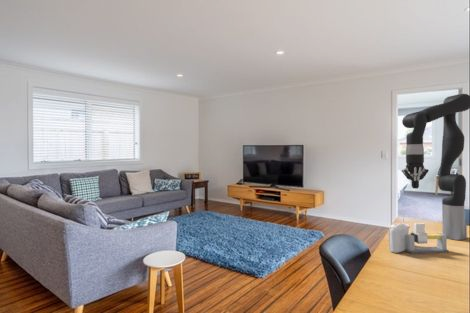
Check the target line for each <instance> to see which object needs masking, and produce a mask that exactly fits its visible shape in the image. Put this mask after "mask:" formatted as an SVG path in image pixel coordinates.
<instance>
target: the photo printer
mask: <svg viewBox="0 0 470 313" xmlns="http://www.w3.org/2000/svg"><path fill="white" fill-rule="evenodd" d="M405 224H406V223H404V224H403V222H401V223H400V222H396V223H393V224H391V226H390V227H389V228H388V242H389V251H390V252H391V253H394V254H398V253H401V252H405V250H406V234H407V227H406V225H405Z"/></svg>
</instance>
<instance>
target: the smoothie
mask: <svg viewBox="0 0 470 313" xmlns="http://www.w3.org/2000/svg"><path fill="white" fill-rule="evenodd" d="M404 216H405V215H404ZM404 216H402V224H405V225H406V227H407V234H409V233H410V232H409V231H410V228H411V227H410V225H409V224H407V223H405V217H404Z"/></svg>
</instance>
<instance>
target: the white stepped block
mask: <svg viewBox="0 0 470 313" xmlns="http://www.w3.org/2000/svg"><path fill="white" fill-rule="evenodd" d="M425 224H426V223H423V222H415V223H413V230H411V233H414V234H417V235H418V242H415V243H416V244H418V245H419V244H421V245H422V244H428V239H427V235H428V233H427V232H426V230H425V227H426V226H425Z"/></svg>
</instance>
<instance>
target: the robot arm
mask: <svg viewBox="0 0 470 313" xmlns="http://www.w3.org/2000/svg"><path fill="white" fill-rule="evenodd" d="M468 110H470V94H468V93H458V94H454V95H451V96H450V95H449V96H447V97H445V98H444V100H443V103H440V104H436V105H432V106H429V107H427V108H424V109H422V110H419V111H416V112H411V113H408V114H406V115H404V117H403V118H402V122H401V123H402V125H403V127H405V128H407V129H412V131H411V132H408V133H407V134H406V146H405V147H406V148H405V163H406V165H405V168H404V169H402V170H401V172H402V174H403V176H404V177H405V178H406V179H407V180H409V181H410V182H411V187H412V189H419V187H420V181H421V180H423V179H424V178H425V177H426V175H427V174H428V173H429V169H427V168H425V165H424V163H425V152H424V151H425V150H424V148H425V147H424V135H425V130H426V127H427V124H429V123H431V122H433V121H436V120H438V119H441V118H443V129H442V130H443V131H442V133H443V134H442V141H441V142H442V143H441V160H440V166H439V173H438V178H437V179H438V180H437V186H438V188H439V190H440V191H442V192H450V193H451V192H453V193H452V195H451V196H448V197H445V198H442V199H441V202H442V203H441V209H442V210H441V213H442V214H441V215H442V218H441V219H442V223H441V224H442V225H441V226H442V234H445V235H446V237H447V240H448V239H449V240H456V241H463V240H466V239H467V238H468V235H467V229H468V228H467V220H466V219H465V217H466V216H465V201H466V191H467V190H466V189H467V181H466V177H465V176H464V174H463V175H462V174H457V173H451V170H452V167H453V165H454V163H455V162H456V160H457V159H458V158H459V157H460V156H461V154H462V153H463V151H464V150H465V149H464V148H465V136H464V133H463V131H462V130H461V128H460V126H459V125H458V124H457V118H456V116H457V115H456V114H457V113H461V112H466V111H468Z"/></svg>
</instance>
